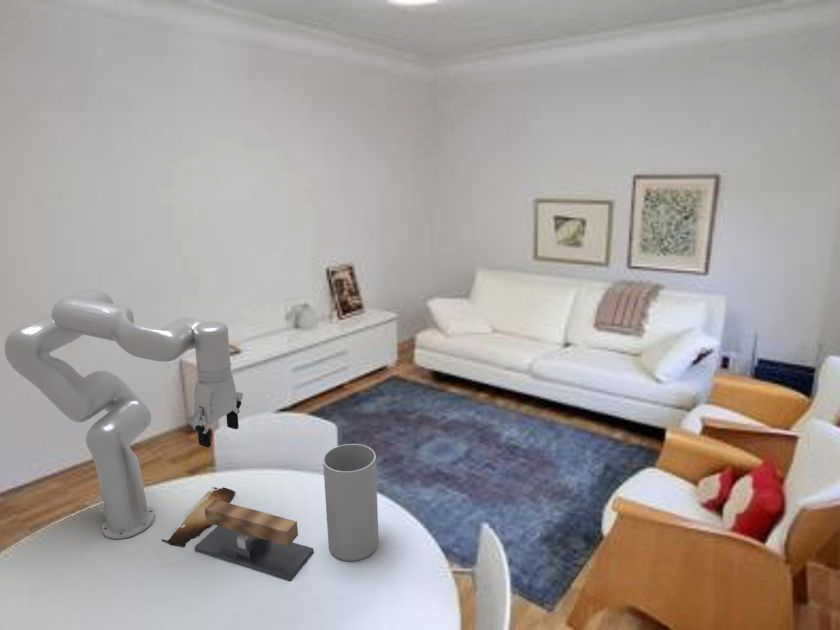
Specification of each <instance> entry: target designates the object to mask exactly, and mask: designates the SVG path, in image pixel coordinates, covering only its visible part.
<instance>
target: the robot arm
mask: <svg viewBox="0 0 840 630" xmlns="http://www.w3.org/2000/svg"><path fill="white" fill-rule="evenodd" d="M134 317H135V316H134V313H133V311H132V309H130V308H129V307H128V306H126V305H121V304H115V303H114V301H113V299H112V298H111V296H110V295H109V294H107V293H106V292H105V291H103V290H100V289H97V288H91V289H90V288H89V289H85V290H82V291H79V292H76V293H74V294H71V295H68V296H65V297H63V298H62V299H60V300H58V301H57V302H56V303H55V304H54V306H53V307H52V310H51V313H49V314H46V315H43V316H41V317H38V318H36V319H33V320H31V321H28V322H26V323H24V324H21V325H20V326H18V327H16V328H15V329H13V330H12V331H11V332H10V333H9V335H8V336H7V337H6V339H5V342H4V347H3V348H4V354H5V358H6V360H7V361H8V363H9V365H10V366H11V367H12V368H13V370H14V371H16V373H18V374H19V375H20V376H21V377H23V378H24V379H26V380H27V381H28V382H30V383H31V384H32V385H34V386H35V387H36V388H37V389H38V390H40V392H41V393H42V394H43V395H44V396H45V397H46V398H47V399H48V400H49V401H50V402H51V403H52V404H53V405H54V406H55V407H56V408H57V409H58V410H59V411H60V412H61V413H62V414H63V415H65V417H67V419H69V420H71V421H72V422H75V423H83V422H86V421H88V420H90V419H92V418H93V417H94V418H95V416H96V415H98V414H100V412H102V411H104V410H105V412H107V413H106V414H104V415H103V416H102V417H100V418H99V419H98V420H97V421H95V422H94V423H93V424H92V425H91V426H90V427H89V429H88V431H87V433H86V436H85V444H86V446H87V449H88V451H89V453H90V455H91V457H92V459H93V462H94V466H95V469H96V473H97V478H98V482H99V488H100V491H101V492H100V493H101V497H102V502H103V505H102V507H100V509H99V511H98V512H99V514H102V515H104V518H105V520H104V521H103V523H102V525H101V531H102V534H103V536H105V537H106V538H108V539H113V540H121V539H126V538H132V537H133V536H136V535H138V534H140V533H142V532H144V531H145V530H147V529H149V527H151V526H152V525H153V523H154V522H155V518H156V512H155V509H154V508H152V507H150V506H148V505H147V499H146V494H145V488H144V483H143V478H142V472H141V467H140V461H139V458H138V456H137V454H136V453H135V452H134V451H133V449H131V445H132V443H133V442H134V441H135V440H137V438H138V437H139V436H140V435H141V434H143V433H144V432H145V431H146V430H147V429H148V428H149V426H150V424H151V421H152V414H151V412H150V410H149V407H147V405H146V404H145V403H144V401H142V400H141V398H139V397H138V395H137V394H136V393H135V392H134V391H133V390H131V388H130V387H129V386H128V385H127V384H126V382H124V381H123V380H122V379H121V378H120V377H119V376H117V375H116V374H114V373H112V372H110V371H107V370H106V371H105V370H97V371H94V372H91V373H90V374H89V373H88V374H87V375H86V376H82V375H81V374H80V373H79V372H78V371H76V369H75V368H74V367H73V366H72V365H71V364H69V363H68V362H67V361H65V360H62V359H60V358H57V357H54V356H51V355H50V353H51V352H54V351H56V350H58V349H60V348H63V347H64V346H67V345H68V344H70V343H72V342H74V341H76V340H77V339H80V338H81V337H82V336H89V337H94V338H98V339H103V340H107V341H112V342H115V343H116V344H117V345H118V346H119V348H120V349H122V350H124V351H125V352H126V353H128V354H129V355H131V356H134V357H135V358H136V357H137V358H141V359H145V360H150V361H155V362H164V363H165V362H171V361H172V362H173V361H175V360H177V359H178V358H179V359H180V357H182V356H183V355H184V354H186V353H187V352H188V351H192V350H193V349H194V351H195V363H196V373H197V381H196V382H195V385H194V392H193V412H194V413H193V414H192V416H191V417H190V418H189V419H188V423H187V424H189V426H190V428H191V429H192V430H193V431H195V432H197V436H198V445H199V446H202V447H206V448H207V449H208V448H210V447H212V440H211V432H210V431H209V429H210V427H211V424H212V423H214V422H216V421H218V420H220V419H221V418H223V417H224V416H226V427H227V428H230V429H233V430H238V429H239V428H240V427H239V413H240V407H241V406H242V400H243V396H244V393H243V392H240V391H236V386H235V385H236V384H235V380H234V377H233V374H232V368H231V367H232V362H231V354H230V353H231V352H230V342H229V341H230V340H229V328H228V326H227V325H226V324H225V323H223V322H221V321H203V320H200V319H197V318H192V317H180V318H178V319H175V320H174V321H172V322H170V323H168V324H167V325H164V326H163V327H161V328H160V329H155V328H151V327H150V328H149V327H143V326H140V325H137V324H134V321H135V320H134ZM204 423H205V424H204ZM203 424H204V426H203Z"/></svg>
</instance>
